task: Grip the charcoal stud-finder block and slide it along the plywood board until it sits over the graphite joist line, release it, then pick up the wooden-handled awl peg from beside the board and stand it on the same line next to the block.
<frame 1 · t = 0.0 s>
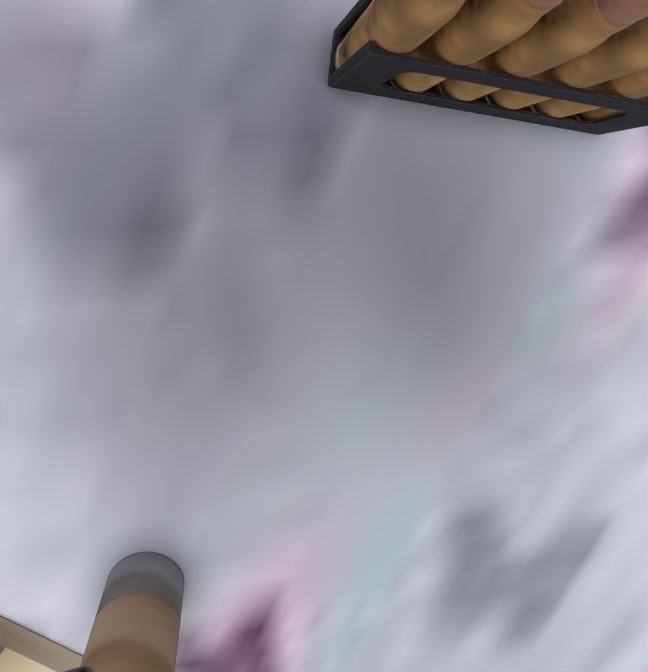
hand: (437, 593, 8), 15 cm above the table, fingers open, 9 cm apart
ammunition clip: (473, 86, 21), on the table
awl: (145, 585, 23), on the table
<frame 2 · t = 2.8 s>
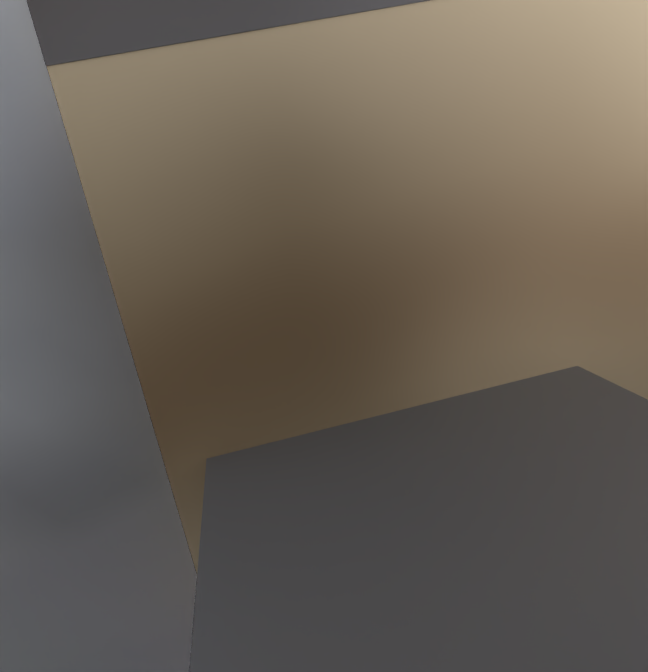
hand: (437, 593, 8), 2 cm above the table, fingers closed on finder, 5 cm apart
board: (618, 288, 9), on the table
finder: (426, 573, 8), point 1 cm above the table, touching board, gripper
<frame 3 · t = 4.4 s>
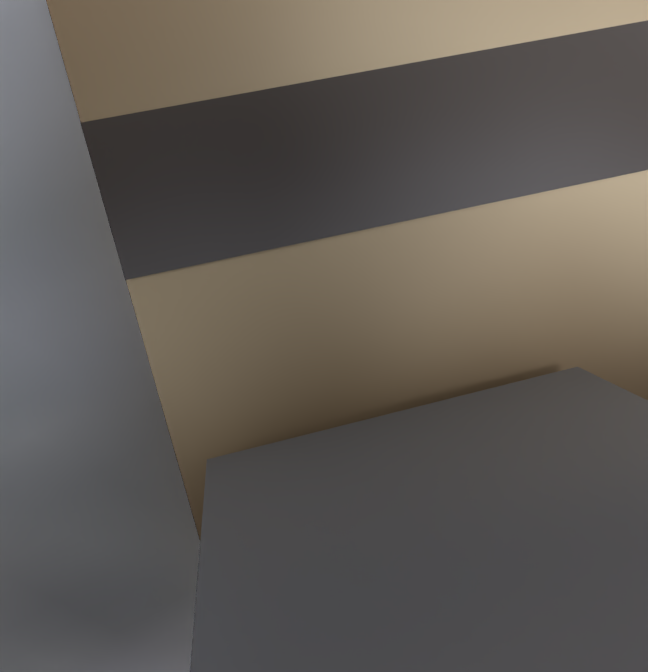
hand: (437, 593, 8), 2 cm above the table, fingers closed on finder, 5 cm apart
board: (616, 417, 10), on the table
finder: (427, 574, 8), point 2 cm above the table, touching gripper
when the fingers open (2 cm above the table, at t = 6.0 s): finder stays where it is, resting on board.
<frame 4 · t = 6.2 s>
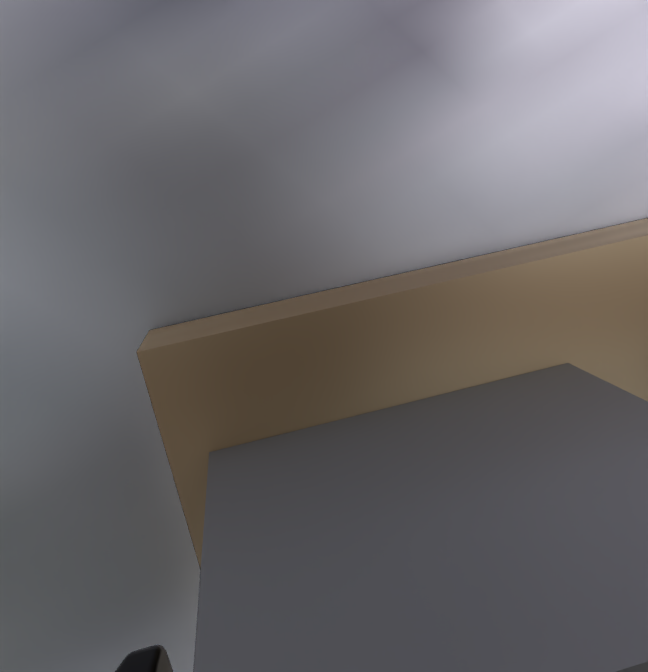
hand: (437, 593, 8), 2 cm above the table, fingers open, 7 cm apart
finder: (422, 564, 8), point 1 cm above the table, touching board
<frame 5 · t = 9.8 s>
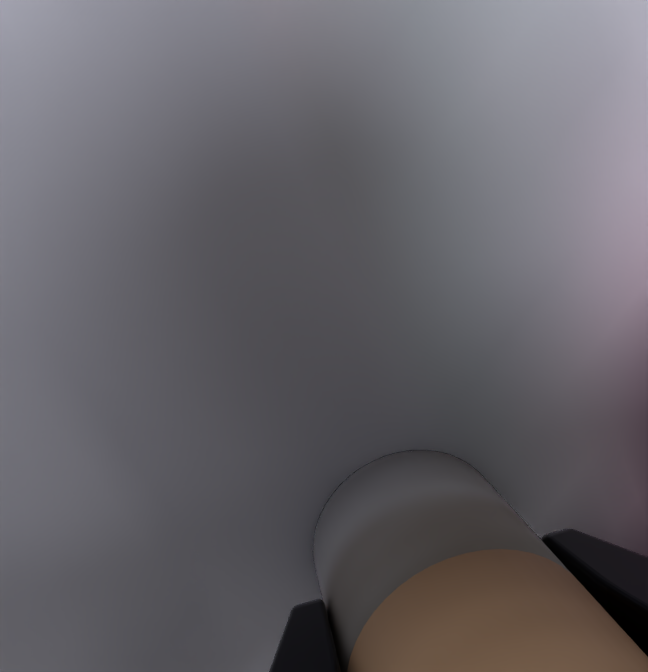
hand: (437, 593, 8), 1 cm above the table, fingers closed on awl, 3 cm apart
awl: (409, 540, 9), on the table, touching gripper
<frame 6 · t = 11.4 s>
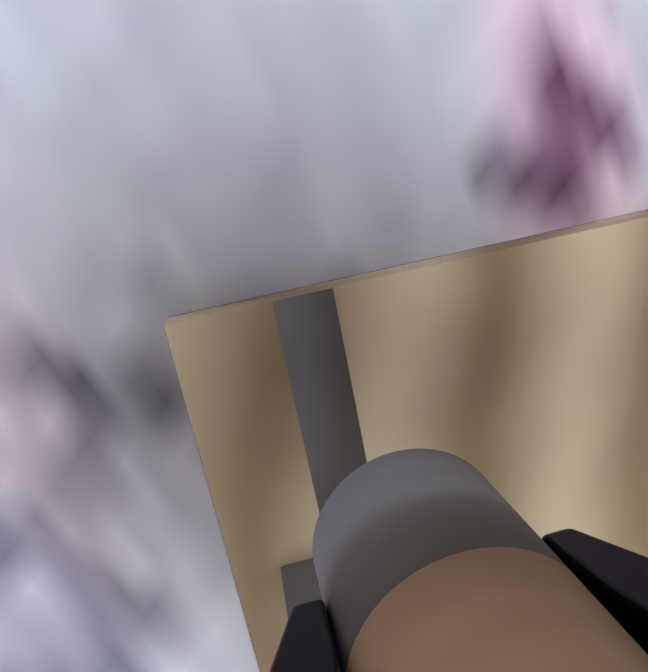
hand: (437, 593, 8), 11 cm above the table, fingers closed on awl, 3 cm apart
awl: (409, 539, 9), point 10 cm above the table, touching gripper
board: (478, 451, 20), on the table
finder: (368, 609, 19), point 1 cm above the table, touching board
when the fingers open (3 cm above the table, at t = 13.0 s): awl stays where it is, resting on board.
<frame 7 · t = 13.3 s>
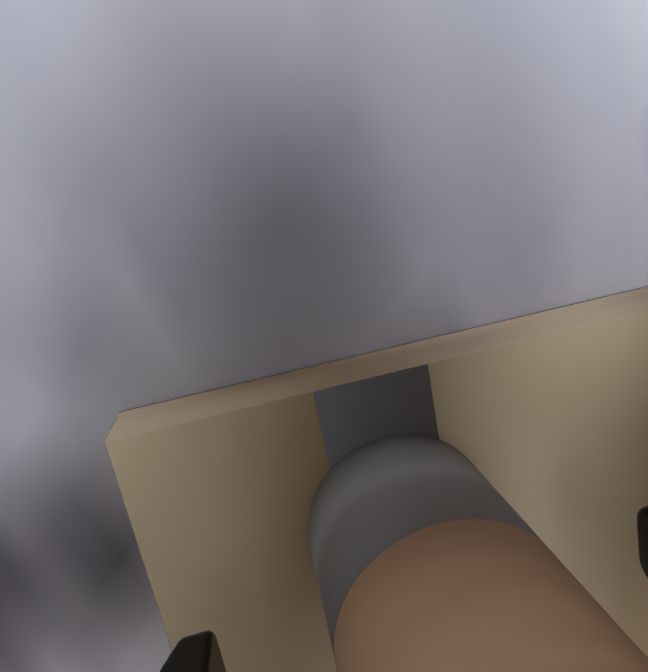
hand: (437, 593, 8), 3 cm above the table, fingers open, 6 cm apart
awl: (399, 520, 9), point 1 cm above the table, touching board
board: (639, 611, 12), on the table
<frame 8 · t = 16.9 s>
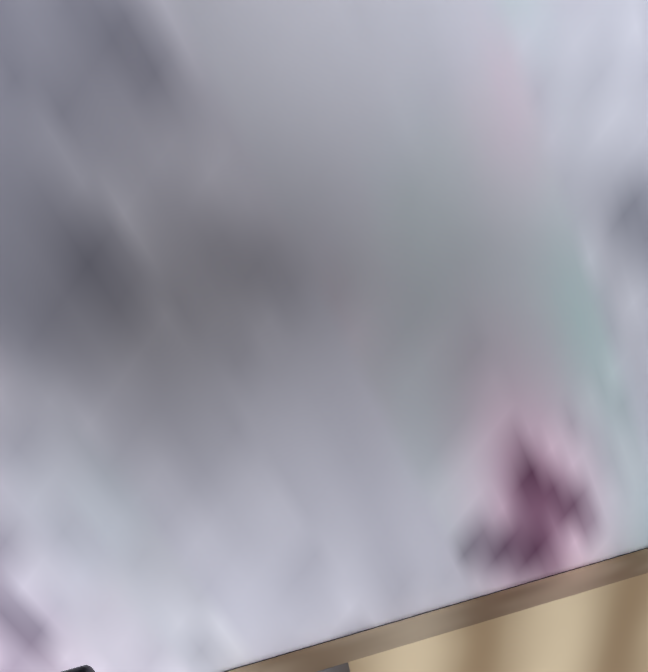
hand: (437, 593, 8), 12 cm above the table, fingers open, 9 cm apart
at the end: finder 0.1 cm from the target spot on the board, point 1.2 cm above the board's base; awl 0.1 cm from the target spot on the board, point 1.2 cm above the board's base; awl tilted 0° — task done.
